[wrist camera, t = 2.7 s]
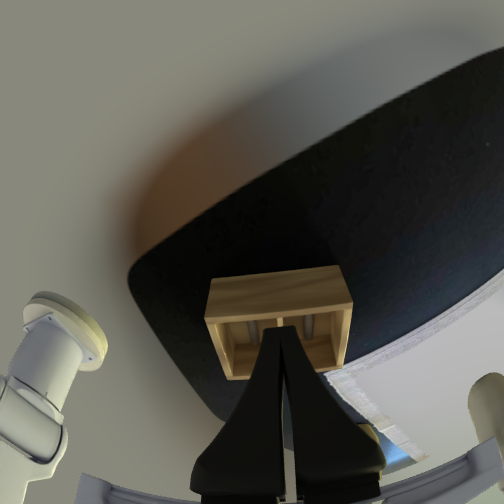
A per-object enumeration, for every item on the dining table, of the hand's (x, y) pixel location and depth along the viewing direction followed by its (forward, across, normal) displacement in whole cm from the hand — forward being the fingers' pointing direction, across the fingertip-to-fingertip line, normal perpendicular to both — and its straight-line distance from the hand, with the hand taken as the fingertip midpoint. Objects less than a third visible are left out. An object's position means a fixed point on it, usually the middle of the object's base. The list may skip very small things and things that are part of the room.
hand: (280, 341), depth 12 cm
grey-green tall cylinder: (+10, -40, +36) cm, 55 cm away
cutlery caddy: (+9, 0, +7) cm, 12 cm away
